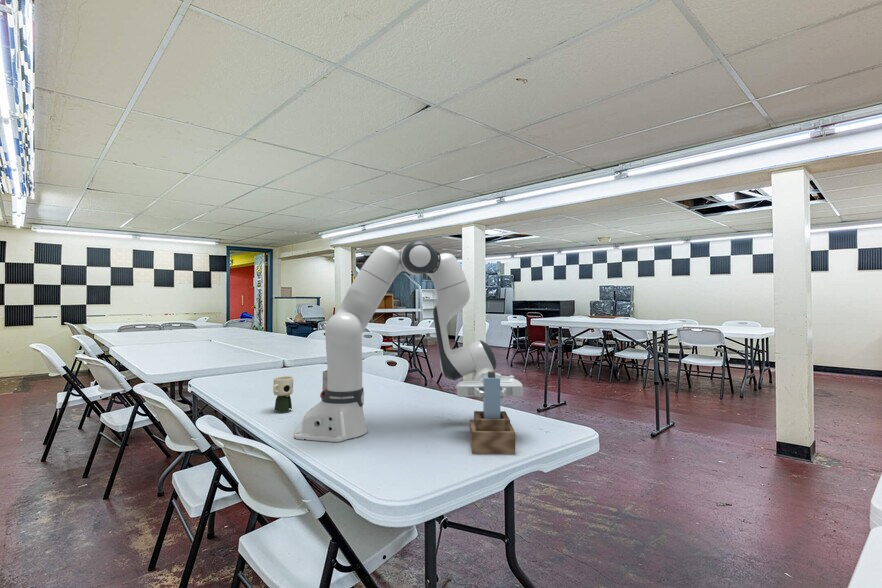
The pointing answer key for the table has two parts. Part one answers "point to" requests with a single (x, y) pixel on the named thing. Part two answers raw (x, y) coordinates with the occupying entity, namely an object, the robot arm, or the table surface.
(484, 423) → the socket block
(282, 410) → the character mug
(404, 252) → the robot arm
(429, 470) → the table surface
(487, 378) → the plug block
